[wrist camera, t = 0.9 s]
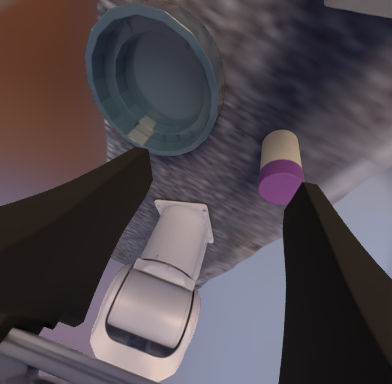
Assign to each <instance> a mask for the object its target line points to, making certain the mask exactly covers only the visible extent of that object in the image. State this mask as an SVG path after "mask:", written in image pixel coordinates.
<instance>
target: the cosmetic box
mask: <svg viewBox="0 0 392 384" xmlns="http://www.w3.org/2000/svg"><path fill="white" fill-rule="evenodd" d="M324 5H325V6H327V7H332V8H338V9H344V10H350V11H354V12H359V13H365V14H370V15H375V16H381V17H386V18H392V0H324Z"/></svg>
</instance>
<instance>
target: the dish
mask: <svg viewBox="0 0 392 384" xmlns="http://www.w3.org/2000/svg"><path fill="white" fill-rule="evenodd" d="M85 62H86V74H87V81H88V84H89V86H90V89H91V92H92V95H93V97H94V100H95V103H96V105H97V106H98V108H99V109H100V111H101V112H102V114H103V115H104V117H105V118H106V120H107V121H108V123H109V124H110V125H111V126H112V127H113V128H114V129H115V130H116V131H117V132H118V133H119V134H120V135H121V136H122V137H123V138H124V139H125V140H127V141H129V142H130V143H132V144H133V145H135V146H137V147H141V148H146V149H148V150H149V152H150V153H153V154H157V155H160V156H178V155H181V154H184V153H187V152H190V151H193V150H194V149H196V148H197V147H198V146H199V145H200V144H201V143H202V142H203V141H205V140H206V139H207V138H208V136H209V134H210V132H211V130H212V128H213V125H214V123H215V121H216V119H217V117H218V114H219V112H220V110H221V108H222V105H223V102H224V93H225V83H226V77H225V72H224V68H223V63H222V59H221V54H220V51H219V49H218V47H217V46H216V44H215V42H214V40H213V39H212V37H211V35H210V34H209V32H208V30H207V29H206V27H205V26H204V25H203V24H202V23H201V22H200V21H199V20H197V19H196V18H195V17H194V16H193V15H191V14H190V13H189V12H188V11H186V10H185V9H184V8H182V7H181V6H177V5H174V4H170V3H167V2H163V1H159V0H150V1H142V2H134V3H130V4H127V5H123V6H119V7H115V8H111V9H109V10H108V11H107V12H106V13H105V14H104V15H103V16H102V17H101V18H100V19H99V20H98V22H97V23H96V24H95V25H94V26H93V27H92V29H91V32H90V36H89V39H88V44H87V47H86V51H85Z"/></svg>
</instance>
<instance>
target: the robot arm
mask: <svg viewBox="0 0 392 384" xmlns="http://www.w3.org/2000/svg"><path fill="white" fill-rule="evenodd" d="M152 181H153V177H152V170H151V164H150V157H149V150H148V149H146V148H141V147H135V148H133V149H131V150H129V151H127V152H125V153H124V154H122V155H120V156H118V157H116V158H115V159H113V160H111V161H109V162H107V163H105V164H104V165H102V166H100V167H98V168H96V169H94V170H92V171H90V172H88V173H86V174H84V175H82V176H80V177H78V178H76V179H74V180H72V181H70V182H67V183H65V184H63V185H60V186H58V187H55V188H53V189H50V190H48V191H45V192H43V193H39V194H37V195H34V196H31V197H28V198H25V199H22V200H19V201H16V202H13V203H10V204H6V205H3V206H0V384H160V383H158V382H159V381H161V380H163V379H165V378H167V377H169V376H171V375H173V374H175V373H176V371H177V368H178V367H179V366H180V364H181V361H182V358H183V356H184V353H185V350H186V348H187V346H188V345H189V343H190V341H191V339H192V337H193V334H194V331H195V328H196V325H197V321H198V317H199V312H200V305H201V302H200V301H201V300H200V296H199V293H198V290H196V289H194V286H195V282H196V279H197V278H198V276H199V273H200V269H201V265H202V262H203V258H204V254H205V250H206V246H207V243H213V242H214V239H213V234H212V228H211V223H210V218H209V213H208V208H207V205H205V204H199V203H188V202H178V201H167V200H155V202H154V203H155V205H156V208H157V210H158V212H159V214H160V218H159V220H158V222H157V224H156V226H155V229H154V231H153V233H152V235H151V237H150V239H149V241H148V243H147V245H146V247H145V249H144V251H143V253H142V255H141V257H140V258H137V260H136V262H135V264H134V265H133V264H131V263H129V264H127V265H125V266H123V267H122V268H121V269H120V270H119V272H118V273H117V275H116V276H115V278H114V280H113V281H112V283H111V285H110V287H109V289H108V291H107V293H106V295H105V297H104V299H103V302H102V304H101V307H100V310H99V315H98V317H97V320H96V322H95V324H94V326H93V328H92V330H91V334H92V335H91V337H90V343H91V346H92V349H93V352H94V354H95V356H96V358H94V357H92V356H89V355H87V354H84V353H81V352H79V351H77V350H74V349H71V348H69V347H66V346H64V345H61V344H59V343H56V342H54V341H51V340H49V339H46V338H44V337H41V336H39V333H40V332H41V331H42V329H43V327H47V328H49V329H52V330H53V329H54V328H55V326H56V325H57V323H58V322H61V323H64V324H67V325H70V326H72V327H76V326H78V325H80V324H81V323H83V322H84V319H85V317H86V314H87V311H88V309H89V306H90V303H91V301H92V298H93V296H94V293H95V291H96V288H97V286H98V284H99V281H100V279H101V277H102V274H103V272H104V270H105V268H106V265H107V263H108V261H109V259H110V257H111V255H112V253H113V251H114V249H115V247H116V245H117V243H118V240H119V238H120V237H121V235H122V233H123V231H124V230H125V228H126V227H127V225H128V223H129V222H130V220H131V219H132V217H133V216H134V214H135V212H136V211H137V209H138V208H139V206H140V204H141V203H142V201H143V200H144V198H145V196H146V194H147V192H148V190H149V188H150V185H151V183H152ZM283 243H284V257H285V271H286V303H285V322H284V336H283V348H282V359H281V367H280V376H279V384H392V279H391V278H390V277H389V276H388V275H387V274H386V273H385V271H384V270H383V269H382V268H381V267H380V266H379V265H378V264H377V263H376V262H375V260H374V259H373V258H372V257H371V256H370V255H369V253H368V252H367V251H366V250H365V249H364V248H363V246H362V245H361V244H360V242H359V241H358V240H357V239H356V238H355V236H354V235H353V234H352V233H351V231H350V230H349V228H348V227H347V226H346V225H345V223H344V222H343V220H342V219H341V218H340V216H339V215H338V213H337V212H336V211H335V209H334V208H333V206H332V205H331V203H330V202H329V201H328V199H327V198H326V196H325V195H324V193H323V192H322V191H321V189H320V188H319V187H318V185H316V184H311V183H306V182H302V183H301V185H300V186H299V188H298V189H297V191H296V193H295V194H294V196H293V197H292V199H291V201H290V202H289V204H288V205H287V207H286V208H285V210H284V219H283ZM39 370H41V371H44V372H46V373H48V374H51V375H53V376H56V377H58V378H56V377H49V376H39V375H38V372H39Z"/></svg>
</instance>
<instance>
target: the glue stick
mask: <svg viewBox="0 0 392 384" xmlns="http://www.w3.org/2000/svg"><path fill="white" fill-rule="evenodd" d="M302 182H305V179H304V173H303V170H302V165H301V158H300V152H299V145H298V139H297V137H296V135H295V134H294V133H292V132H291V131H288V130H276V131H273V132H271V133H270V134H268V135H267V136H266V137H265V138H264V140H263V143H262V152H261V165H260V173H259V182H258V192H259V194H260V196H261V197H262V198H263V199H264V200H266V201H268V202H270V203H273V204H289V202H290V201H291V199H292V197H293V196H294V194H295V193H296V191H297V189H298V188H299V186H300V185H301V183H302Z"/></svg>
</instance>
